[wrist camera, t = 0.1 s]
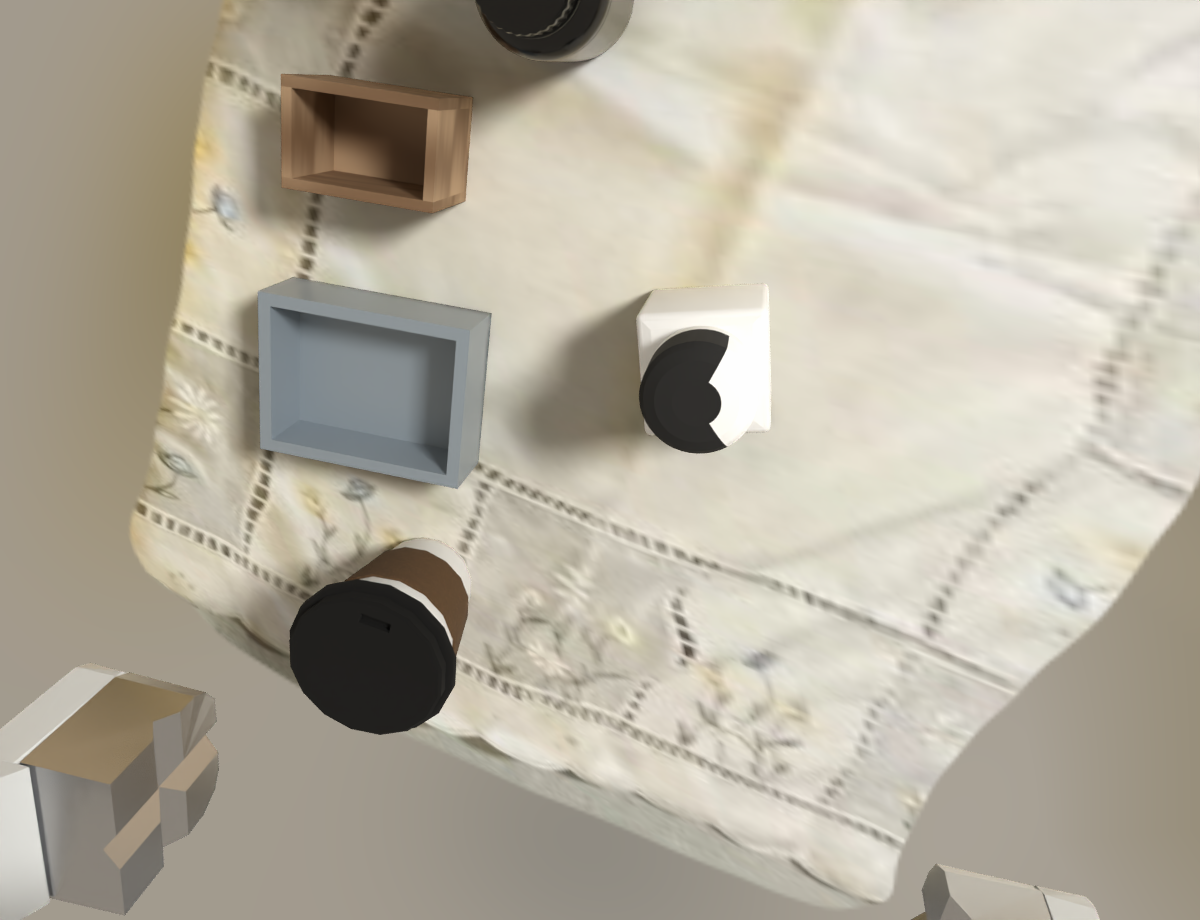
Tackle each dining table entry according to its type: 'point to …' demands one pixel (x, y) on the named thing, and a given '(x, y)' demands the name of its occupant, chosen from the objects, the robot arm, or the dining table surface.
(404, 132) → the walnut crate
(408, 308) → the grey crate
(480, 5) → the supplement bottle
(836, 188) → the dining table surface
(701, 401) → the medicine bottle
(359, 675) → the coffee cup
